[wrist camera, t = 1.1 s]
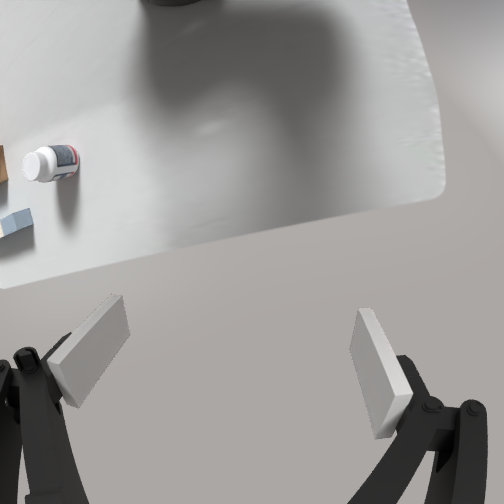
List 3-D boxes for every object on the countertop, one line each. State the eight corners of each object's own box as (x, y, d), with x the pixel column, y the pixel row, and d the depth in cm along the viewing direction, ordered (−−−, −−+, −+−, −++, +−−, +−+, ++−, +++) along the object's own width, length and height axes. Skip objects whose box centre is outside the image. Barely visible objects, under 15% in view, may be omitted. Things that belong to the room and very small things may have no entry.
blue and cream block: (-11, 228, 44) (-26, 234, 40) (29, 207, 42) (11, 213, 38) (-8, 241, 45) (-22, 248, 41) (33, 223, 43) (16, 230, 39)
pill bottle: (63, 139, 38) (25, 141, 30) (84, 152, 39) (47, 155, 30) (52, 169, 40) (16, 176, 31) (73, 183, 40) (36, 191, 32)
